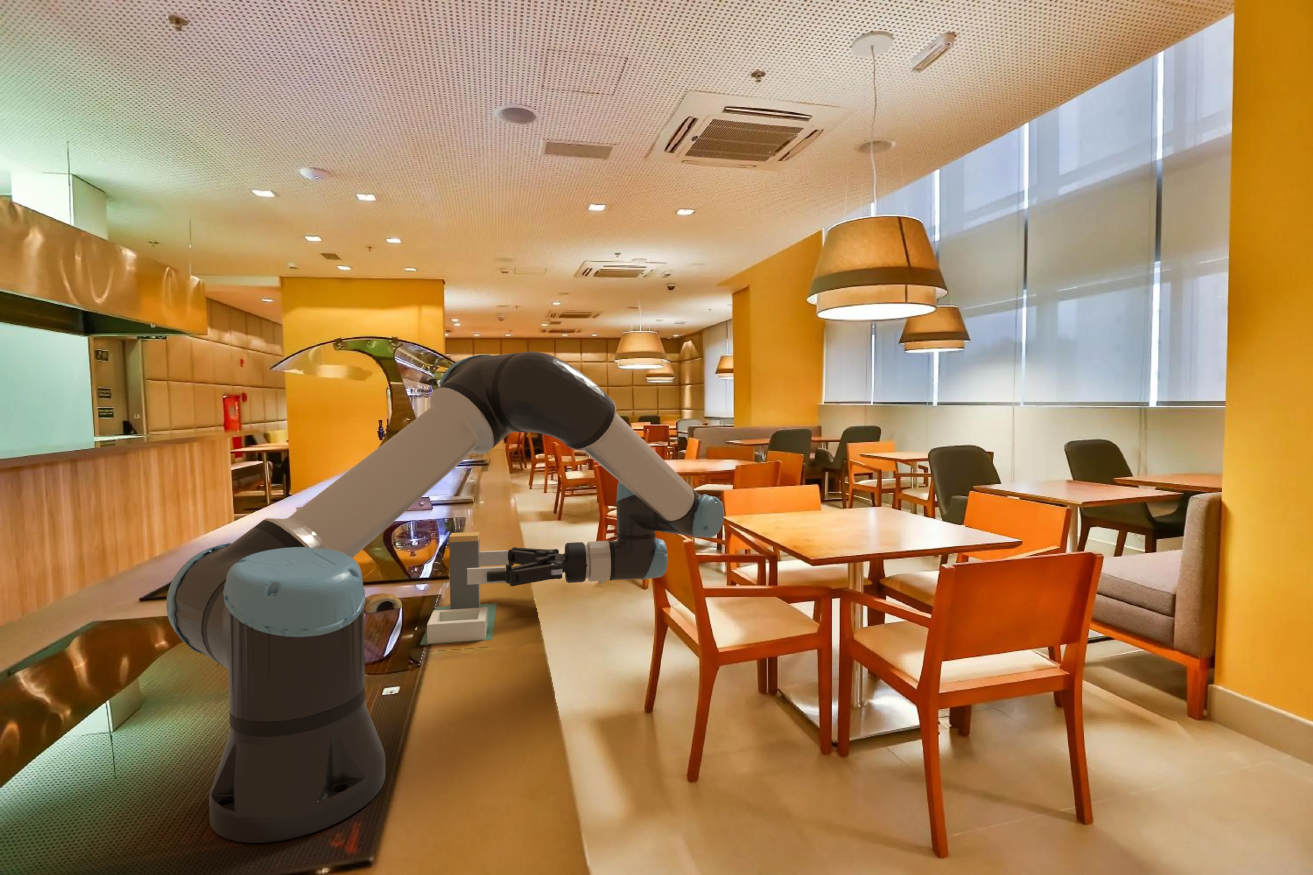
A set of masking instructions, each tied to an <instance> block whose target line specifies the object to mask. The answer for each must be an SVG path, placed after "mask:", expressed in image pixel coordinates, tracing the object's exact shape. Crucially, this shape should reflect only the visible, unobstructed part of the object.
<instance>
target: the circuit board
mask: <svg viewBox="0 0 1313 875" xmlns="http://www.w3.org/2000/svg"><path fill="white" fill-rule="evenodd" d="M483 607H487V609H488V626H487V632H486V638H485V640H471V641H457V642H443V643H429V644H427V628H426V629H425V631H424V634H423V637H422V639H421V641H420V643H419V646H424V645H425V646H426V645H439V644H442V645H443V644H451V643H452V644H454V643H455V644H456V643H469V642H483V641H493V636H494V629H495V622H496V614H497V608H498V603H497V602H496V603H480V608H483ZM434 610H450V605H446V606H445V605H444V606H436V607H435V609H434ZM483 648H484V649H485V648H487V646H485V647H484V646H483V647H479V649H483ZM471 649H474V647H470V648H469V647H468V648H467V647H466V648H465V650H471ZM455 650H456V651H457V650H460V648H457V649H456V648H455V649H452V651H455ZM443 651H446V649H442V650H441V649H439V650H438V652H443ZM429 652H433V650H427V651H424V653H429Z"/></svg>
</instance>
